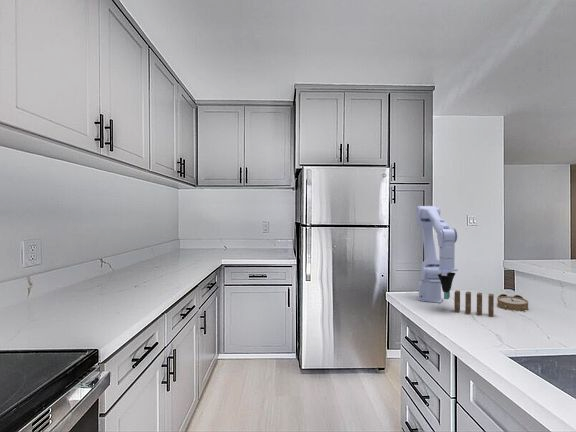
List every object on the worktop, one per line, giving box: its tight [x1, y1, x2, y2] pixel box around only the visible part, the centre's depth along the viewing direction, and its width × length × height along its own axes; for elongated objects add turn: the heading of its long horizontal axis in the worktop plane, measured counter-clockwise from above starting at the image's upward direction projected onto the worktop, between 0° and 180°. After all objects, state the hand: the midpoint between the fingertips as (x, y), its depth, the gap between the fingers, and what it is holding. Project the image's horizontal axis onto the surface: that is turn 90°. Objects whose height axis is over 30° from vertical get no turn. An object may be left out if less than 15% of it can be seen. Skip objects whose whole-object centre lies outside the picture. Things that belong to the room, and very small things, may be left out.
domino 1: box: [453, 290, 461, 314], centre depth 150 cm, size 2×4×8 cm, turn 149°
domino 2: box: [464, 291, 472, 315], centre depth 148 cm, size 2×4×8 cm, turn 149°
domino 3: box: [476, 292, 483, 316], centre depth 146 cm, size 2×4×8 cm, turn 149°
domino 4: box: [487, 293, 495, 318], centre depth 144 cm, size 2×4×8 cm, turn 149°
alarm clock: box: [496, 293, 529, 312], centre depth 158 cm, size 11×5×15 cm
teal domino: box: [443, 289, 451, 300], centre depth 152 cm, size 2×4×8 cm, turn 149°
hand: (446, 291), depth 152 cm, fingers closed on teal domino, 4 cm apart
